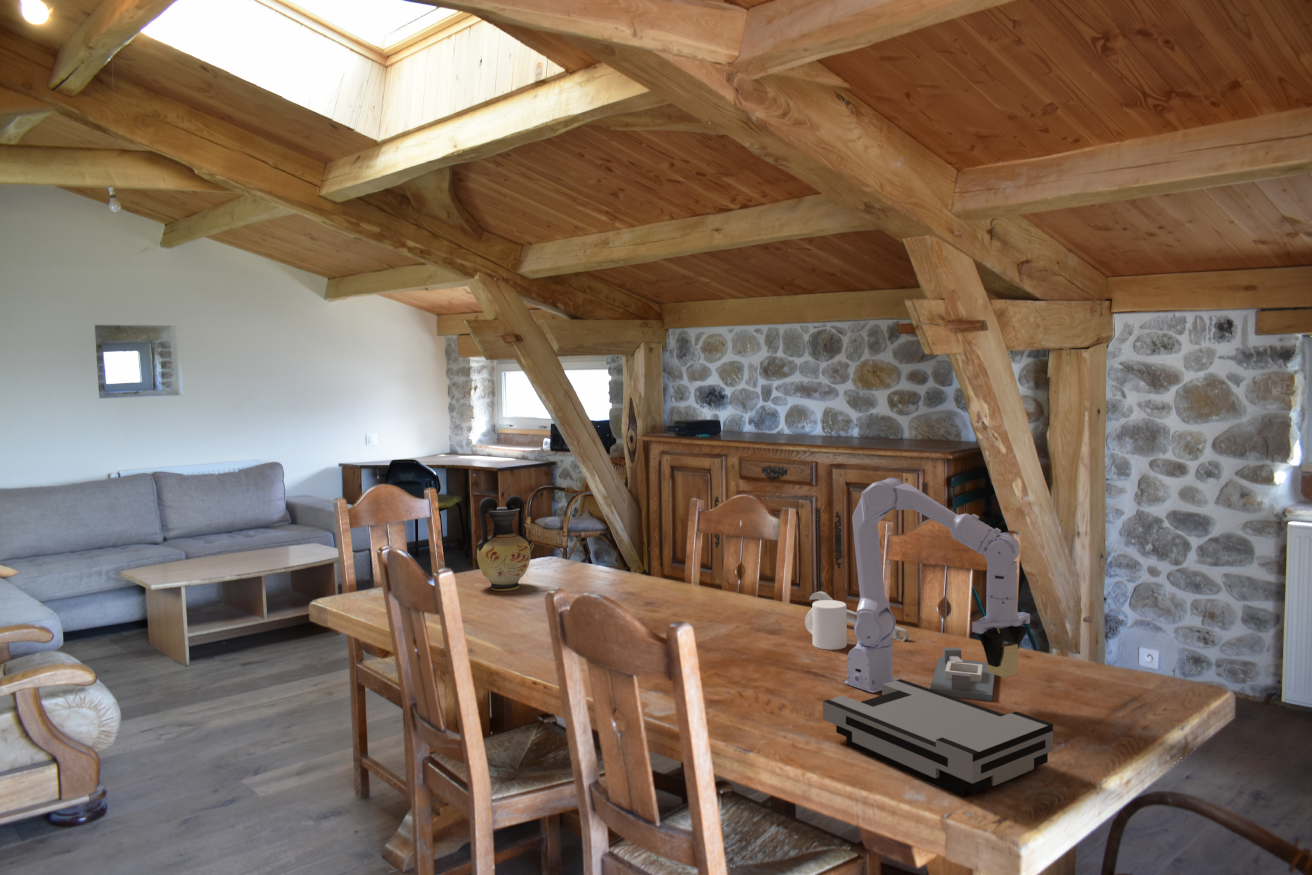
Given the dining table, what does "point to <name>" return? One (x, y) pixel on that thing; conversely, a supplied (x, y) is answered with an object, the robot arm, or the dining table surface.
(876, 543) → the robot arm
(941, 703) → the game console
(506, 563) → the amphora
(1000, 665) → the block
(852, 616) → the wrench
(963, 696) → the base
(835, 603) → the mug
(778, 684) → the dining table surface
